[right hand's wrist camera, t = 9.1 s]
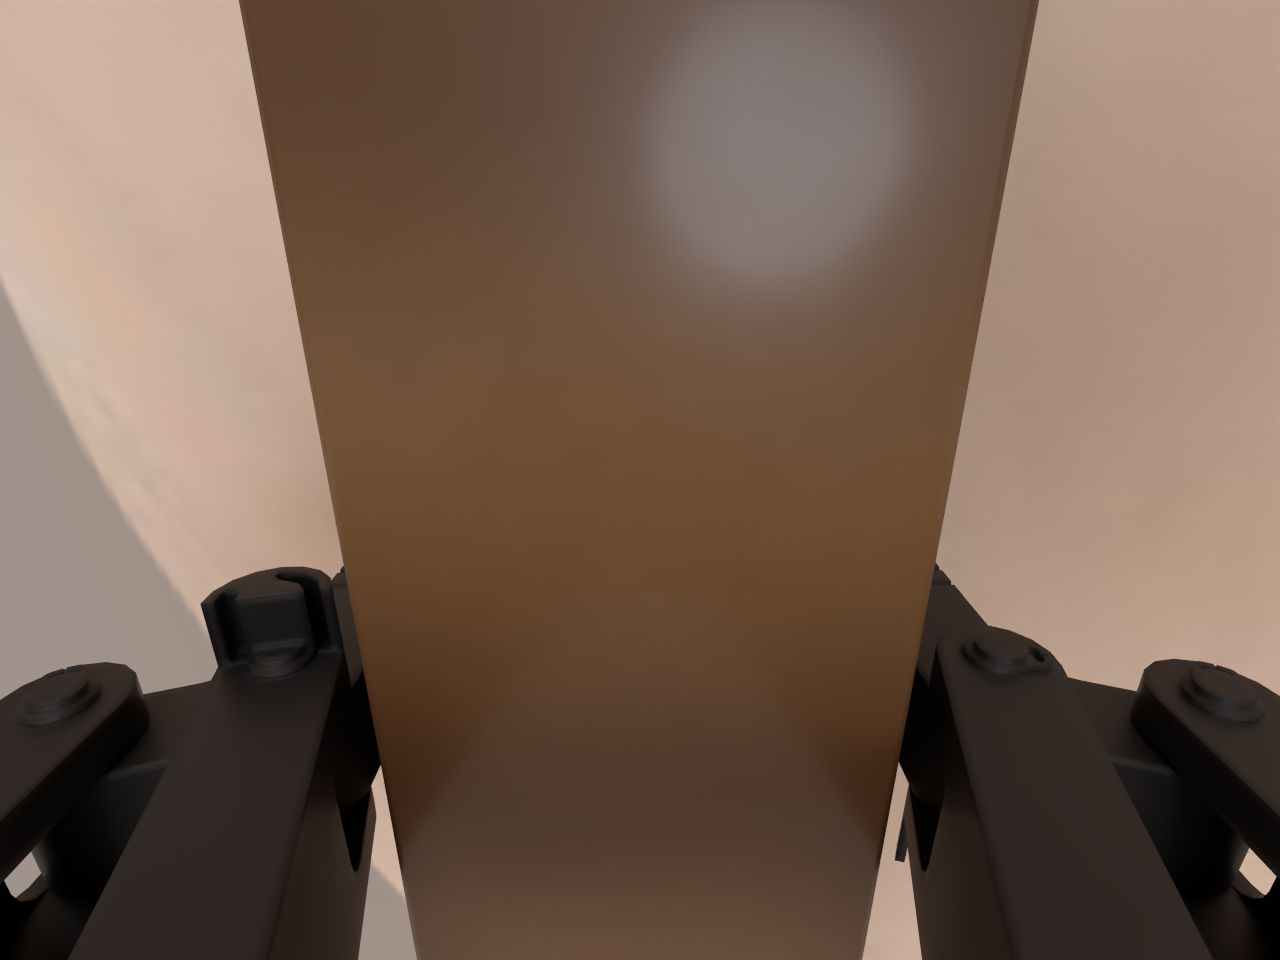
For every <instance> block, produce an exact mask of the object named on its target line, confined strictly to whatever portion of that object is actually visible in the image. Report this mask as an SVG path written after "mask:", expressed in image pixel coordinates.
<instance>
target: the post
mask: <svg viewBox="0 0 1280 960" xmlns="http://www.w3.org/2000/svg"><path fill="white" fill-rule="evenodd" d="M239 3H240V8H241V14H242V19H243V24H244V30H245V35H246V41H247V46H248V51H249V57H250V62H251V68H252V73H253V78H254V84H255V89H256V94H257V100H258V105H259V111H260V116H261V121H262V127H263V132H264V138H265V143H266V148H267V154H268V159H269V164H270V170H271V175H272V181H273V186H274V191H275V197H276V202H277V207H278V213H279V218H280V224H281V229H282V234H283V240H284V245H285V251H286V256H287V261H288V267H289V272H290V277H291V283H292V288H293V294H294V299H295V304H296V310H297V315H298V321H299V326H300V331H301V337H302V342H303V347H304V353H305V358H306V364H307V369H308V374H309V380H310V385H311V390H312V396H313V401H314V407H315V412H316V417H317V423H318V428H319V434H320V439H321V444H322V450H323V455H324V460H325V466H326V471H327V477H328V482H329V487H330V493H331V498H332V504H333V509H334V514H335V520H336V525H337V530H338V536H339V541H340V547H341V552H342V557H343V563H344V568H345V574H346V579H347V584H348V590H349V595H350V600H351V606H352V611H353V617H354V622H355V627H356V633H357V638H358V643H359V649H360V654H361V660H362V665H363V670H364V676H365V681H366V687H367V692H368V697H369V703H370V708H371V713H372V719H373V724H374V730H375V735H376V740H377V746H378V751H379V757H380V762H381V767H382V773H383V778H384V783H385V789H386V794H387V800H388V805H389V810H390V816H391V821H392V826H393V832H394V837H395V843H396V848H397V853H398V859H399V864H400V870H401V875H402V880H403V886H404V891H405V896H406V902H407V907H408V912H409V918H410V923H411V929H412V934H413V940H414V945H415V950H416V956H417V960H862V957H863V951H864V946H865V940H866V935H867V930H868V924H869V919H870V913H871V908H872V903H873V897H874V892H875V886H876V881H877V875H878V870H879V865H880V859H881V854H882V848H883V843H884V837H885V832H886V827H887V821H888V816H889V810H890V805H891V800H892V794H893V789H894V783H895V778H896V772H897V767H898V762H899V756H900V751H901V745H902V740H903V735H904V729H905V724H906V718H907V713H908V707H909V702H910V697H911V691H912V686H913V680H914V675H915V669H916V664H917V659H918V653H919V648H920V642H921V637H922V632H923V626H924V621H925V615H926V610H927V604H928V599H929V594H930V588H931V583H932V577H933V572H934V566H935V561H936V556H937V550H938V545H939V539H940V534H941V529H942V523H943V518H944V512H945V507H946V501H947V496H948V491H949V485H950V480H951V474H952V469H953V463H954V458H955V453H956V447H957V442H958V436H959V431H960V426H961V420H962V415H963V409H964V404H965V398H966V393H967V388H968V382H969V377H970V371H971V366H972V361H973V355H974V350H975V344H976V339H977V333H978V328H979V323H980V317H981V312H982V306H983V301H984V295H985V290H986V285H987V279H988V274H989V268H990V263H991V258H992V252H993V247H994V241H995V236H996V230H997V225H998V220H999V214H1000V209H1001V203H1002V198H1003V192H1004V187H1005V182H1006V176H1007V171H1008V165H1009V160H1010V155H1011V149H1012V144H1013V138H1014V133H1015V127H1016V122H1017V117H1018V111H1019V106H1020V100H1021V95H1022V90H1023V84H1024V79H1025V73H1026V68H1027V62H1028V57H1029V52H1030V46H1031V41H1032V35H1033V30H1034V24H1035V19H1036V14H1037V8H1038V3H1039V0H239Z"/></svg>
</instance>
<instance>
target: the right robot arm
mask: <svg viewBox="0 0 1280 960" xmlns="http://www.w3.org/2000/svg"><path fill="white" fill-rule="evenodd" d="M201 607H202V611H203V615H204V618H205V622H206V625H207V629H208V632H209V636H210V639H211V643H212V646H213V650H214V653H215V657H216V660H217V664H218V668H217V670H216V672H215V674H214V676H213V678H212V680H211V681H207V682H203V683H200V684H195V685H189V686H184V687H179V688H174V689H169V690H164V691H159V692H154V693H149V694H143V693H142V690H141V687H140V684H139V681H138V678H137V675H136V673H135V672H134V671H133V670H132V669H130V668H129V667H128V666H126V665H123V664H116V663H109V662H103V663H94V664H86V665H76V666H72V667H67V669H65V670H64V669H60V670H57V671H54V672H51V673H48V674H46V675H45V676H43V677H42V678H39V679H37V680H35V681H33V682H30V683H28V684H26V685H23V686H22V687H20V688H18V689H17V690H15V691H14V692H12V693H11V694H9V695H7V696H6V697H4V698H3V699H1V700H0V960H358V956H359V948H360V940H361V933H362V925H363V917H364V909H365V901H366V893H367V885H368V878H369V870H370V862H371V854H372V847H373V839H374V831H375V823H376V810H375V802H374V797H373V792H372V787H371V785H372V782H373V780H374V778H375V776H376V774H377V772H378V769H379V767H380V765H381V762H380V757H379V751H378V746H377V740H376V735H375V730H374V724H373V719H372V713H371V708H370V703H369V697H368V692H367V687H366V681H365V676H364V670H363V665H362V660H361V654H360V649H359V643H358V638H357V633H356V627H355V622H354V617H353V611H352V606H351V600H350V595H349V590H348V584H347V579H346V574H345V568H344V566H343V567H342V568H341V572H340V573H337V574H336V576H335V577H334V578H333V579H332V580H331V578H330V577H329V576H327V575H326V574H325V573H323V572H322V571H321V570H317V569H312V568H307V567H280V568H274V569H269V570H264V571H259V572H255V573H252V574H249V575H246V576H244V577H241V578H238V579H235V580H232V581H231V582H229V583H227V584H225V585H224V586H222V587H220V588H218V589H216V590H215V591H213V592H212V593H211V594H210V595H209V596H208V597H207V598H206V599H205V600H204V601H203V602H202V603H201ZM899 763H900V765H901V768H902V770H903V772H904V774H905V776H906V778H907V780H908V783H909V787H908V792H907V797H906V802H905V807H904V812H903V817H902V823H901V828H900V833H899V838H898V843H897V849H896V856H895V860H896V861H901V862H904V861H905V856H906V851H907V847H908V853H909V861H910V868H911V876H912V884H913V892H914V899H915V907H916V915H917V923H918V931H919V938H920V946H921V954H922V960H1280V696H1279V695H1277V694H1275V693H1274V692H1272V691H1271V690H1269V689H1267V688H1266V687H1264V686H1263V685H1261V684H1259V683H1258V682H1256V681H1253V680H1251V679H1249V678H1246V677H1244V676H1242V675H1239V674H1238V673H1236V672H1235V671H1233V670H1231V669H1228V668H1225V667H1222V666H1218V665H1217V666H1214V665H1213V664H1211V663H1206V662H1201V661H1189V660H1180V659H1169V660H1162V661H1155V662H1153V663H1152V664H1151V665H1149V666H1148V667H1147V668H1145V669H1144V672H1143V675H1142V678H1141V681H1140V684H1139V687H1138V690H1137V691H1132V690H1127V689H1122V688H1117V687H1112V686H1106V685H1101V684H1096V683H1091V682H1086V681H1081V680H1077V679H1073V678H1069V677H1067V675H1066V673H1065V671H1064V669H1063V667H1062V665H1061V664H1060V663H1059V662H1058V661H1057V659H1056V658H1055V657H1054V656H1053V655H1052V653H1051V652H1050V651H1048V650H1047V649H1045V648H1044V647H1042V646H1041V645H1039V644H1038V643H1036V642H1035V641H1033V640H1031V639H1029V638H1027V637H1024V636H1022V635H1019V634H1017V633H1015V632H1012V631H1010V630H1006V629H1001V628H997V627H992V626H988V625H987V624H986V623H985V622H984V620H983V619H982V618H981V617H980V616H979V614H978V613H977V612H976V611H975V610H974V608H973V607H972V606H971V605H970V604H969V602H968V601H967V600H966V599H965V597H964V596H963V595H962V594H961V593H960V591H959V590H958V589H957V588H956V587H955V585H951V581H950V579H949V578H948V577H947V576H946V575H945V573H944V572H943V571H942V570H939V566H938V565H937V564H936V563H935V566H934V572H933V577H932V583H931V588H930V594H929V599H928V604H927V610H926V615H925V621H924V626H923V632H922V637H921V642H920V648H919V653H918V659H917V664H916V669H915V675H914V680H913V686H912V691H911V697H910V702H909V707H908V713H907V718H906V724H905V729H904V735H903V740H902V745H901V751H900V756H899ZM1249 848H1250V849H1251V850H1252V851H1253V852H1254V853H1255V854H1256V855H1257V856H1258V857H1259V858H1260V859H1261V860H1262V861H1263V862H1264V863H1265V865H1266V866H1267V867H1268V868H1269V869H1270V870H1271V871H1272V872H1273V873H1274V874H1275V875H1276V876H1277V877H1276V879H1275V881H1274V883H1273V885H1272V887H1271V889H1270V891H1269V892H1268V893H1267V894H1266V895H1264V894H1262V893H1261V892H1260V891H1259V890H1257V889H1256V888H1255V887H1254V886H1253V885H1252V884H1251V883H1250V882H1249V881H1248V880H1247V879H1246V878H1245V877H1244V875H1243V874H1242V873H1241V872H1240V871H1239V869H1240V867H1241V864H1242V862H1243V860H1244V858H1245V856H1246V854H1247V852H1248V849H1249ZM30 852H32V854H33V856H34V858H35V860H36V863H37V865H38V867H39V869H40V871H41V874H40V876H39V877H38V878H37V879H36V880H35V881H34V882H33V883H32V884H31V886H30V887H29V888H27V889H26V890H25V891H24V892H23V893H21V894H20V895H19V896H18V897H16V898H15V897H14V896H12V895H11V893H10V892H9V889H8V887H7V885H6V883H5V881H4V880H5V879H6V878H7V877H8V875H9V874H10V873H11V872H12V871H13V870H14V869H15V868H16V867H17V866H18V865H19V864H20V863H21V862H22V860H23V859H24V858H25V857H26V856H27V855H28V854H29V853H30Z"/></svg>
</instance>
